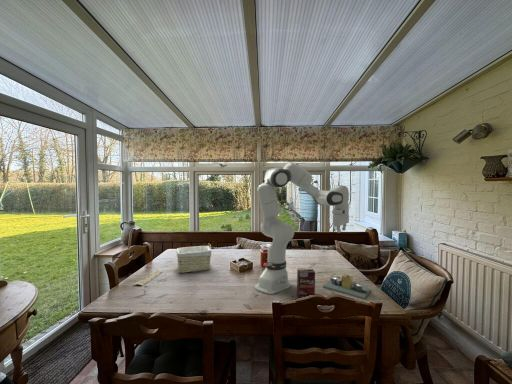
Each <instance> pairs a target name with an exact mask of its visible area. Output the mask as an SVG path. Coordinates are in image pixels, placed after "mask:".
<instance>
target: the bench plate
mask: <svg viewBox="0 0 512 384" xmlns="http://www.w3.org/2000/svg"><path fill="white" fill-rule="evenodd" d="M322 288H323V289H328V290H330V291H335V292H338V293H341V294H345V295H348V296H350V297H355V298H359V299H362V300H365V299H366V297H367V296H368V295H369V293H370V292H371V289H370V288H368V292H364V291H363V292H362V293H360V292H356V289H355V290H354V289H351V290H350V289H346V288H342V286H339V285H338V284H337V285H334V284H332V283H331V280H330V279H329V281H327V282H326V283H325V284H324V285H322Z"/></svg>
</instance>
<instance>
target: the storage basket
mask: <svg viewBox="0 0 512 384" xmlns="http://www.w3.org/2000/svg"><path fill="white" fill-rule="evenodd" d="M211 256H212V249H211V247H210V246H209V245H199V246H195V245H194V246H184V247H183V246H182V247H178V248H176V257H177V270H178V273H179V274H184V273H193V272H201V271H208V270H210V269H211V267H210V266H211Z"/></svg>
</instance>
